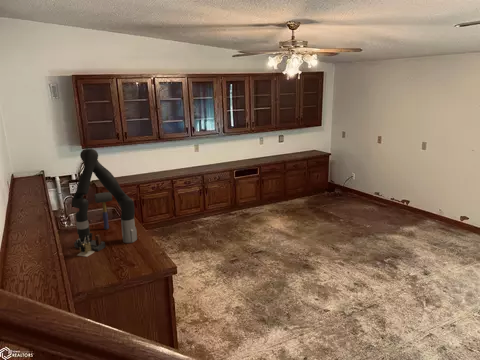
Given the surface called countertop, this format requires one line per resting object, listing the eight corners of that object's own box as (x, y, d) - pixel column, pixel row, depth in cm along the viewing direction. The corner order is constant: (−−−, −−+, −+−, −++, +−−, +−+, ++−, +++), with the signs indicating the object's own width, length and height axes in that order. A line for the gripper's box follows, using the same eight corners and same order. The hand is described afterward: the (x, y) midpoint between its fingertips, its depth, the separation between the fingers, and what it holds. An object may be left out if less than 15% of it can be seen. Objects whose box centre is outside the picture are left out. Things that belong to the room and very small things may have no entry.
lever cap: (91, 249, 249) (90, 241, 247) (86, 252, 245) (85, 244, 243) (84, 248, 251) (83, 240, 249) (79, 251, 247) (78, 243, 245)
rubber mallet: (98, 232, 284) (94, 195, 277) (97, 228, 291) (93, 192, 283) (115, 229, 290) (112, 192, 282) (114, 226, 296) (110, 190, 288)
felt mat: (94, 251, 251) (94, 251, 251) (87, 256, 243) (86, 256, 243) (85, 250, 253) (85, 249, 253) (77, 255, 246) (76, 254, 246)
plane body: (105, 247, 258) (103, 233, 256) (98, 251, 252) (97, 237, 249) (81, 243, 264) (80, 230, 261) (74, 247, 257) (73, 234, 255)
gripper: (80, 231, 236) (83, 255, 240) (94, 223, 249) (97, 246, 253) (70, 230, 238) (73, 254, 242) (85, 222, 251) (88, 245, 255)
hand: (85, 250), depth 248 cm, fingers closed on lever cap, 4 cm apart
